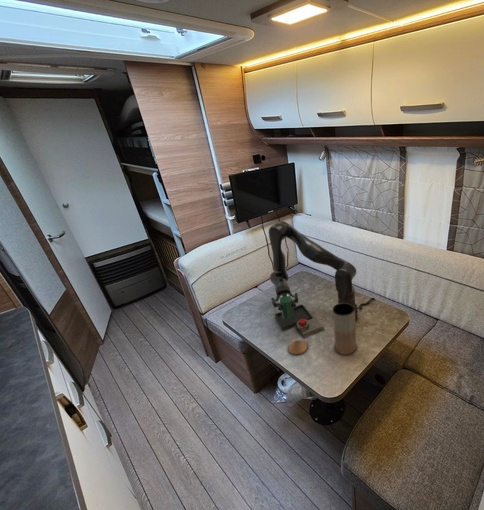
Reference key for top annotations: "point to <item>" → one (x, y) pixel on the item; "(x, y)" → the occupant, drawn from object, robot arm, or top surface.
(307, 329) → the box
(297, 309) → the baking tray
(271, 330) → the top surface
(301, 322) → the stop button
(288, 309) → the green peg
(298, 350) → the trivet
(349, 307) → the planter
